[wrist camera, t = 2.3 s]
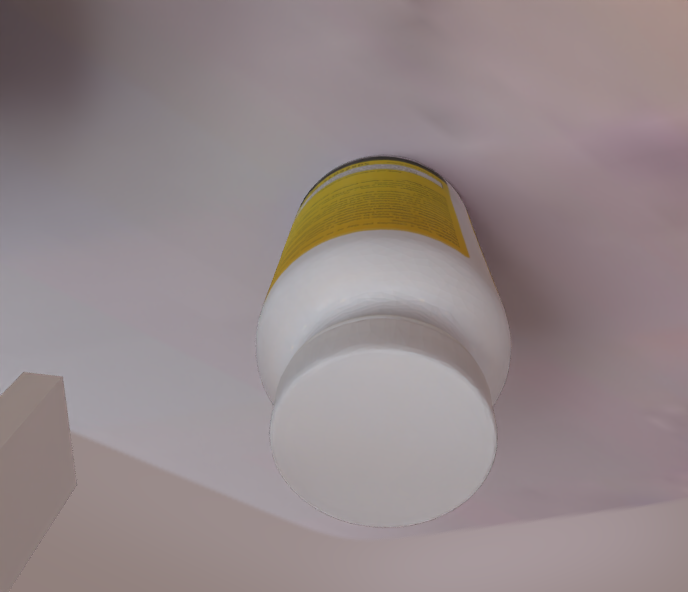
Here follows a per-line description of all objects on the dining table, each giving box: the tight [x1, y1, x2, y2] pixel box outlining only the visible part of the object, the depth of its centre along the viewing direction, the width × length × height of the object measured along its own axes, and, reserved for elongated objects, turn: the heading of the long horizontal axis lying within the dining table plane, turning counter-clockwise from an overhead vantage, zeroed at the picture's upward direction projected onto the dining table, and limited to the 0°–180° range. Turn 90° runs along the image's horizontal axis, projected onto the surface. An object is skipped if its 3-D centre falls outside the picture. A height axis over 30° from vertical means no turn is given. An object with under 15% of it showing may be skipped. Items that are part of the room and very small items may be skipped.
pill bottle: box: [256, 155, 511, 528], centre depth 18 cm, size 6×6×12 cm
